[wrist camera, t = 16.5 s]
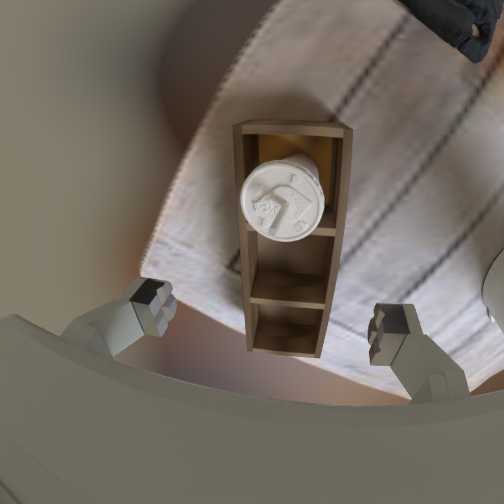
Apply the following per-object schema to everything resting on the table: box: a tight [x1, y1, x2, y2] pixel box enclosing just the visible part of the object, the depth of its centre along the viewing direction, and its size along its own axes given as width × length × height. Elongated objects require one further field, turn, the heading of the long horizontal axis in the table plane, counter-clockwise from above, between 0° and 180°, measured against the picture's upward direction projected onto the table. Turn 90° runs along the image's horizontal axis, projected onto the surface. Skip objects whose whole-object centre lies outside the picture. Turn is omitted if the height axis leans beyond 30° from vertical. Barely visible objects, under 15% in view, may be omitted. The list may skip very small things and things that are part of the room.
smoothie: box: [240, 154, 324, 242], centre depth 22 cm, size 6×6×14 cm
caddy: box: [233, 120, 353, 358], centre depth 31 cm, size 10×29×6 cm, turn 2°
